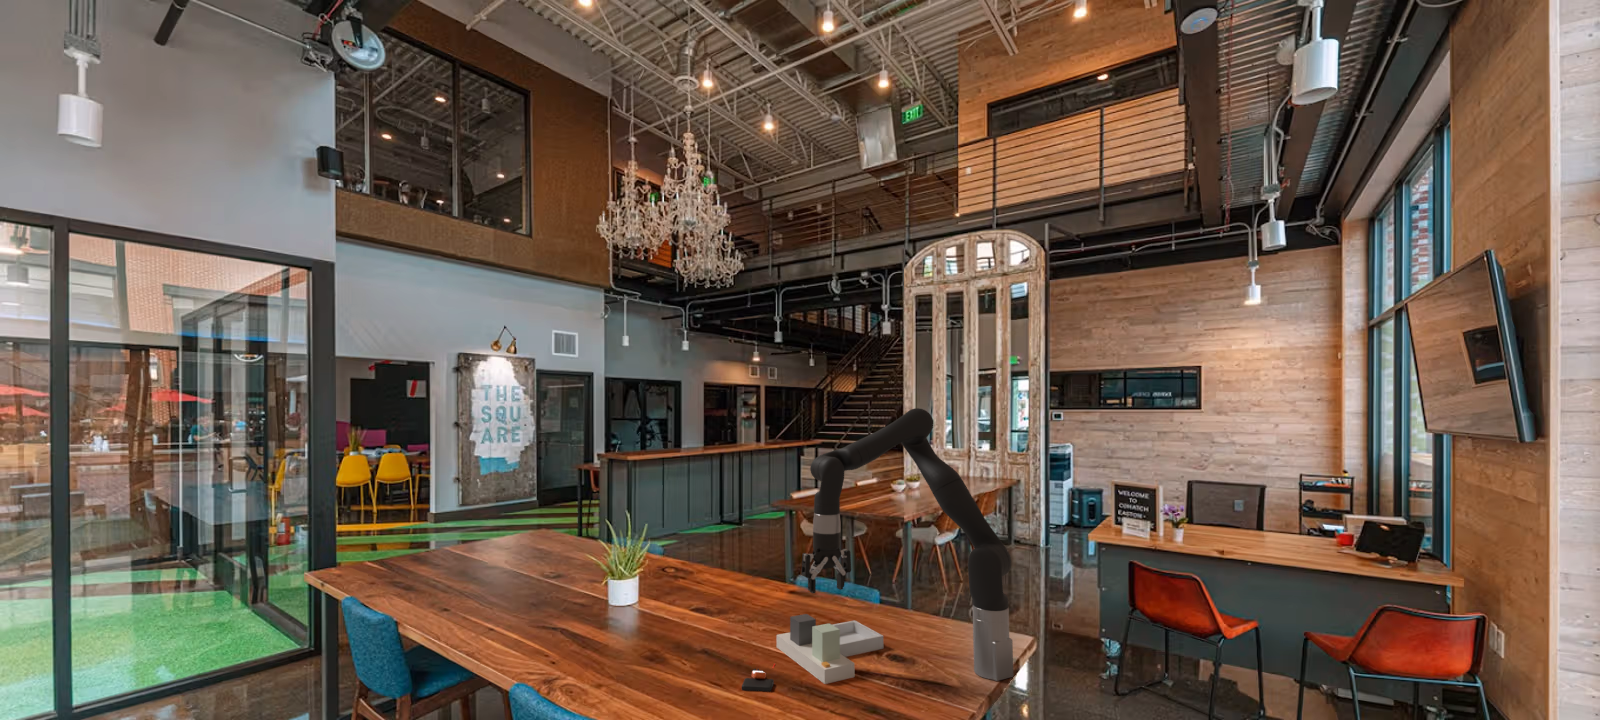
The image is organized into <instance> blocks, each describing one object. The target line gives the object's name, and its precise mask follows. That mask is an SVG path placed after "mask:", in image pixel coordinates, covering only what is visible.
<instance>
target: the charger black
mask: <svg viewBox="0 0 1600 720" xmlns="http://www.w3.org/2000/svg"><path fill="white" fill-rule="evenodd" d="M789 618H790V620H789V624H790V625H789V626H790V627H789V631H790V640H791V641H793V642H794V643H796V644H797V645H798V646H801V645H806V644H811V643H812V627H813V626H817V621H816V618H815V617H813V616H811V615H809V614H807V613H803V614H799V615H792V616H789Z"/></svg>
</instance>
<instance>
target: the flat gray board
mask: <svg viewBox="0 0 1600 720" xmlns="http://www.w3.org/2000/svg"><path fill="white" fill-rule="evenodd" d="M776 649H778V650H779V651H781V652H782V653H783V654H785V655H786V656H787V657H789V658H790V659H791V660H793V662H795V663H797V664H798V665H799V666H800V667H802V668H803V669H804V670H806V671H807V672H808V673H810V674H811V675H813V677H814V678H816V679H817V680H819V681H820V682H821V683H822V684H824V685H827V684H831V683H835V682H839V681H843V680H847V679H852V678H855V676H856V675H855V674H856V673H855V662H854V661H852V660H850V659H849V658H848V657H844V656H843V655H841V654H840V659H836V660H831V661H827V662H821V661H820V660H818V659H817V658H815V657H814V656H813V655H812V643H811V644H806V645H801V646H798V645H797V644H796V643H794V642H793V641H791V640H790V632H785V633H780V634H779V633H778V634H776Z"/></svg>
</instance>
